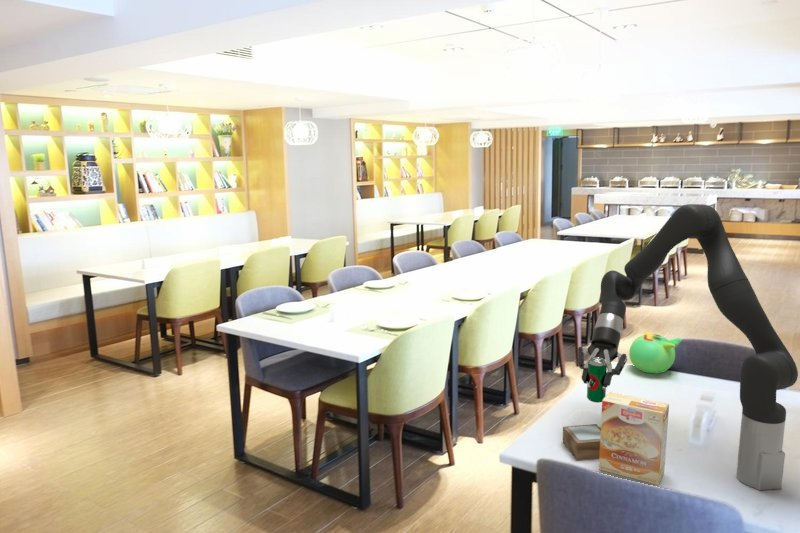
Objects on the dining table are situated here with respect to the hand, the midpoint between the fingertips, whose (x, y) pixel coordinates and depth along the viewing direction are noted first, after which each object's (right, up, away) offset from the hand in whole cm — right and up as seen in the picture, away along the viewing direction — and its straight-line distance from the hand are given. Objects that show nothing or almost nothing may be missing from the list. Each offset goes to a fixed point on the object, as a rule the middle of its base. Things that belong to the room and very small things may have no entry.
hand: (595, 384), depth 171 cm
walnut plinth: (-3, -18, -1) cm, 18 cm away
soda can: (+1, -5, +3) cm, 6 cm away
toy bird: (+40, -6, +57) cm, 69 cm away
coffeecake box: (+5, -20, -13) cm, 25 cm away
